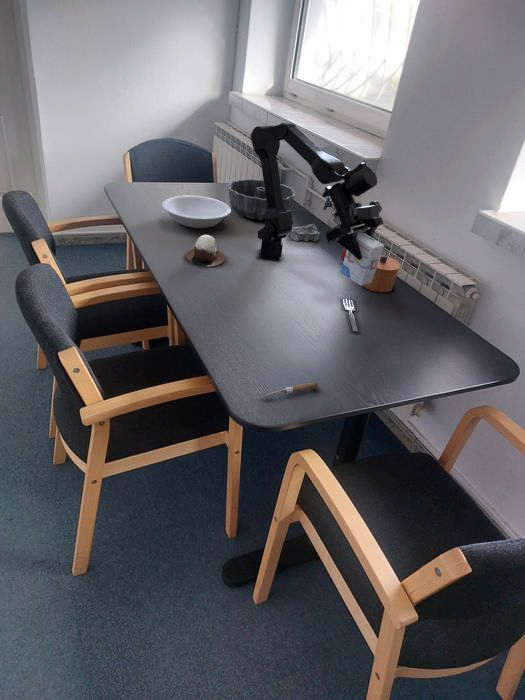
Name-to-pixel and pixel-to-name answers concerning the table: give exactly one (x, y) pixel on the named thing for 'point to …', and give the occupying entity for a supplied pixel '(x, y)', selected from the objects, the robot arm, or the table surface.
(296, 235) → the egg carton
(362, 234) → the ink box
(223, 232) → the table surface
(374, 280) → the pot
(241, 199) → the bundt pan
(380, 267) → the pot lid
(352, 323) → the fork
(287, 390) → the folding knife
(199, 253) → the brown and cream dessert
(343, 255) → the onion
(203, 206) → the soup bowl
